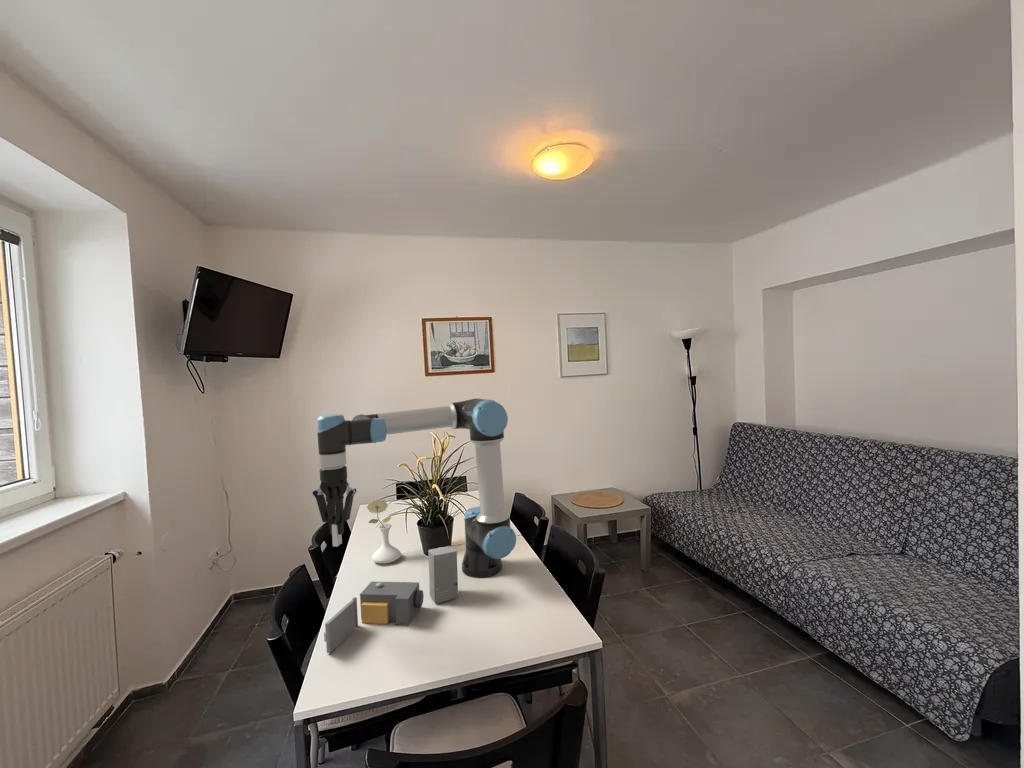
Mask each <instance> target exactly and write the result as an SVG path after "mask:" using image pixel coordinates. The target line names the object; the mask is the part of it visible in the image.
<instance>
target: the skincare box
mask: <svg viewBox="0 0 1024 768" xmlns="http://www.w3.org/2000/svg"><path fill="white" fill-rule="evenodd" d="M457 552H458V551H457V550H456V549H455V548H454V547H453V546H452V545H447V546H441V547H440V546H439V547H437V548H431V549H428V577H429V579H428V580H429V581H428V582H429V583H428V584H429V585H428V586H429V597H430V598H431V599H432V602H433V603H434V604H435V605H438V604H441V603H444V602H448V601H451V600H455V599H458V598H459V585H458V584H459V579H458V578H459V577H458V553H457Z"/></svg>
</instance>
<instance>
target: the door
mask: <svg viewBox="0 0 1024 768" xmlns="http://www.w3.org/2000/svg"><path fill="white" fill-rule="evenodd" d="M324 624H325V625H324V627H325V631H324V632H323V641H324V643H325V644H326V653H327V654H331V653H332V652H333V651H334V650H335V649H336V648H337V647H338V646H339V645H340V644H341V643H342V641H344V640H345V639H346V637H348V636H349V634H351V633H352V631H354V630H355V629H356V628H355V627H356V623H355V605H354V601H352V599H351V600H350V601H349V602H348V603H347V604H345V606H344V607H342V608H341V609H340V610H339V611H338V612H337V613H335V614H334V615H333V616H332V617H331V618H330V619H329V620H327V622H326V623H324Z"/></svg>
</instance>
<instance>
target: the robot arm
mask: <svg viewBox="0 0 1024 768" xmlns="http://www.w3.org/2000/svg"><path fill="white" fill-rule="evenodd" d="M508 418H509V417H508V413H507V410H506V409H505V407H504V406H503V405H502V404H501V403H499V402H497V401H495V400H492V399H485V398H472V399H467V400H461V401H456V402H450V403H449V404H448V405H445V406H438V407H437V406H436V407H430V408H429V407H428V408H418V409H417V408H416V409H409V410H408V409H407V410H401V411H390V412H381V413H375V414H373V413H371V414H362V413H361V414H357V415H355V416H353V417H352V418H351V419H349V420H347V419H346V420H345V416H344V415H343V414H337V413H336V414H326V415H321V416H319V417H318V418H317V421H316V423H317V424H316V425H317V427H316V429H317V430H316V431H317V446H318V465H319V468H320V469H319V480H320V484H319V487H318V488H316V490H313V491H312V493H311V494H312V495H313V497H314V498H315V500H316V504H317V507H318V511H319V514H320V517H321V521H322V522H323V523H327V524H328V529H329V530H328V531H329V535H331V537H332V539H331V540H332V547H339V546H340V545H341V544H343V539H342V538H343V537H342V535H343V534H344V532H345V526H344V525H345V524H344V523H345V522H347V521H349V520H350V518H351V514H352V513H351V512H352V507H353V501H354V496H355V495H356V493H357V489H356V488H352V487H351V486H350V484H349V483H348V468H347V467H348V466H346V464H347V451H346V450H347V449H346V447H347V446H353V445H354V446H355V445H364V444H376V443H382V442H383V443H384V442H385V441H386V440H387V435H388V436H389V435H395V434H404V433H412V432H421V431H427V430H436V429H443V428H445V429H446V428H451V429H452V430H457V429H458V430H459V429H461V430H462V429H466V430H469V438H470V442H471V443H473V444H474V445H475V456H476V458H475V460H476V461H475V462H476V471H477V483H478V484H477V485H478V501H479V506H474V507H470V508H467V509H466V510H465V511H464V518H463V520H464V535H465V536H464V537H465V538H464V539H465V552H464V555H463V559H462V563H461V570H462V573H463V574H464V575H466V576H468V577H470V578H471V577H472V578H486V577H493V576H494V575H497V574H498V573H500V572H501V571H502V570H503V561H502V559H504V558H506V557H508V556H509V555H510V554H511V552H512V551H514V548H515V547H516V543H517V536H516V533H515V531H514V529H513V528H512V527H511V517H510V513H509V512H508V511H507V510H506V507H505V495H504V479H503V467H502V466H503V464H502V453H501V451H502V449H501V443H502V441H503V440H504V439H505V434H504V433H505V429H506V428H507V427H508V426H507V425H508ZM344 495H346V497H344ZM344 498H345V501H344Z"/></svg>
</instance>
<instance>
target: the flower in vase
mask: <svg viewBox="0 0 1024 768" xmlns="http://www.w3.org/2000/svg"><path fill="white" fill-rule="evenodd" d="M367 503H368V504H367V506H366V509H367V510H368V512H370V513H371V514H377V515H376V517H377V518H372V519H369V521H368V522H367V523H368V524H374V525H375V524H377V523H378V522H379V523H380V525H379V526H378V529H379V530H380V532H381V535H382V544H381V546H380V547H379V548H378V549H376V551H375V552H374V553H373V554H372V556H371V561H373V562H374V563H376V564H389V563H393V562H396V561H397V560H399V558H401V556H402V552H401V551H400V550H399V549H398V547H395V546H393V545H392V544H390V541H389V534H390V529H391V528H392V526H393V525H392V524H390V523H388V522H389V521H390V520H391V517H392V516H389V517H387V518H385V519H383V522H382V521H381V520H380V518H379V514H381V513H383V512H385V511H387V508H388V507H389V506H388V503H387V501H385V499H382V498H376V499H372V500H370V501H369V502H367Z"/></svg>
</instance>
